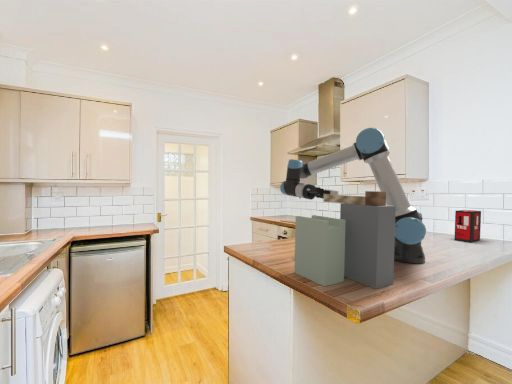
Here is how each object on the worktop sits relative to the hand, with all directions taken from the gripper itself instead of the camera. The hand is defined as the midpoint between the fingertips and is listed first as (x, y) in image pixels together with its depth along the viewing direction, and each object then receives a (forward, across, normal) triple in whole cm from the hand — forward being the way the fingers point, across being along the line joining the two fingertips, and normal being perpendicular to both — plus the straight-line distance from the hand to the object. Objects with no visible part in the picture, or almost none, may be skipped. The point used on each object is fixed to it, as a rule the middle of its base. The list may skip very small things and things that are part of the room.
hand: (344, 197), depth 115 cm
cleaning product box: (+31, -118, +2) cm, 122 cm away
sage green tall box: (+6, +16, -34) cm, 38 cm away
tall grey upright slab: (+19, +5, -30) cm, 36 cm away
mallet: (+9, +11, -3) cm, 15 cm away
